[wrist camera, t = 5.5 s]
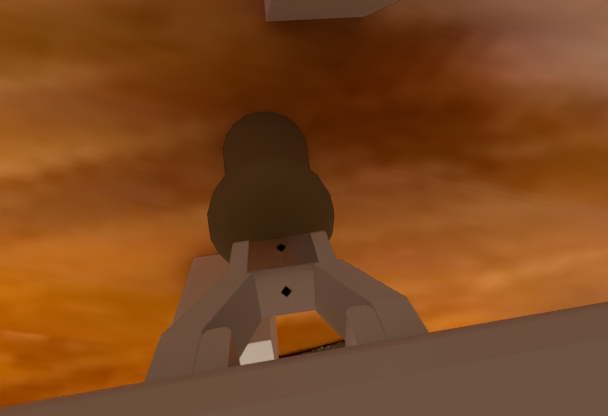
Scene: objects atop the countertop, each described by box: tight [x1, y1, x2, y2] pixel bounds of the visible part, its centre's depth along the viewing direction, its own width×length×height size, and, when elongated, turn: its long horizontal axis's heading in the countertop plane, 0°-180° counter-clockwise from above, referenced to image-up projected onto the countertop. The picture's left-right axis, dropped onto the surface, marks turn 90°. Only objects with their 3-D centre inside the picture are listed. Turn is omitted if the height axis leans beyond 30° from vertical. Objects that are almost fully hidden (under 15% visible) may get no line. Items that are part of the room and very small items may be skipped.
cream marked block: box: [172, 254, 279, 365], centre depth 20 cm, size 6×6×9 cm
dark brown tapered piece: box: [207, 112, 334, 264], centre depth 15 cm, size 6×6×11 cm
